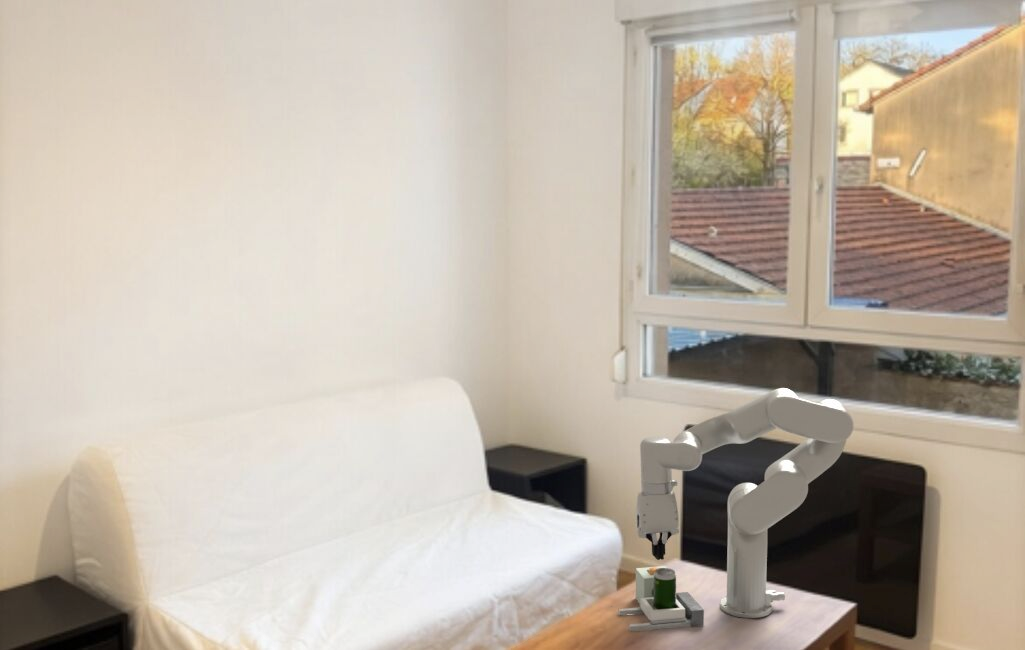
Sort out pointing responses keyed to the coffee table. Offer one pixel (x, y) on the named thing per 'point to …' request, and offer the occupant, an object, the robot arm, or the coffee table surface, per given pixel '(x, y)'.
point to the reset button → (652, 570)
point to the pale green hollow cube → (644, 583)
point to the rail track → (692, 614)
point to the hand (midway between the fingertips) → (658, 557)
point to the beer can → (664, 589)
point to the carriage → (662, 612)
